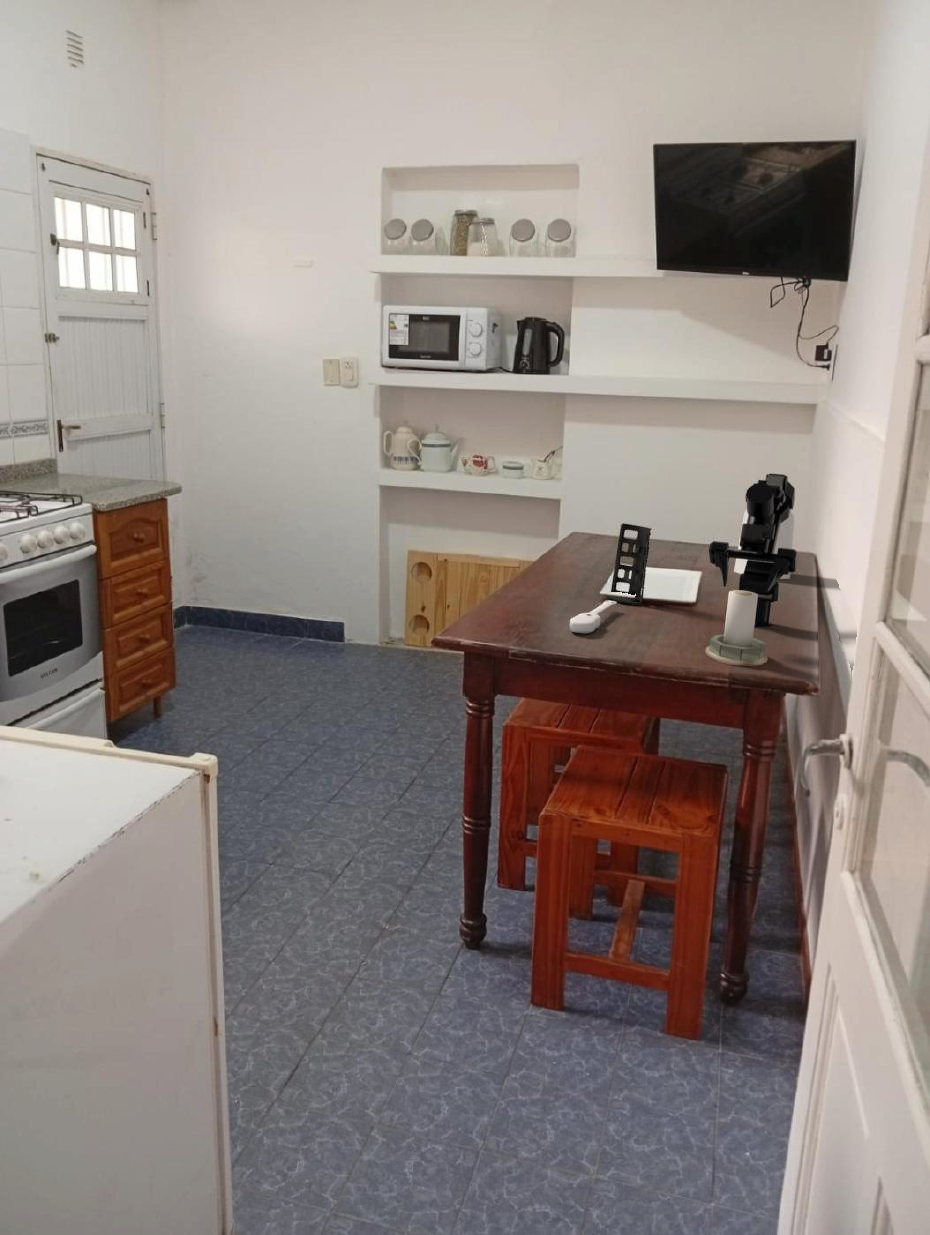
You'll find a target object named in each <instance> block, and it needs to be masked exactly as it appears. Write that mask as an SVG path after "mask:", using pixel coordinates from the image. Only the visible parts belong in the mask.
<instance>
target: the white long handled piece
mask: <svg viewBox="0 0 930 1235" xmlns="http://www.w3.org/2000/svg"><path fill="white" fill-rule="evenodd" d="M617 603H618V601H616V600H604V601H603V603H602V604H600V605H599V606H598V607H595V608H594V609H592V610H591V611H590V612H582V613H579V614H577V615H576V616H573V617H572V618H570V619H569V630H570V631H571V632H573V633H578V634H585V635H586V634H589V633H592V632H594V631H595V630H596V629H598V628H599V627H600V624H601V616H600V615H599V614H600V613H602V612H604V611H605V610H607V609H608V608H610V607H611V606H614V605H616V604H617Z"/></svg>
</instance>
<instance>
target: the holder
mask: <svg viewBox="0 0 930 1235" xmlns="http://www.w3.org/2000/svg"><path fill="white" fill-rule="evenodd" d="M626 531H632V532H633V531H634V532H636V533H637V535H636V539H632V538H626V537H625V532H626ZM651 531H652V528H651V527H646V526H642V525H636V524H630V523H621V524H620V529H619V535H618V542H617V549H616V553H615V554H616V556H615V562H614V567H613V568H614V570H613V574H612V581H611V588H610V589H611V590H610V593H611V592H622V593H628V594H631V595H635V594H636V596H635V598H634V599H629V598H627V597H620V596H616V597H614V596H610V595H609V599H611V600H612V601H616V602H617V603H618V602H619V603H622V604H626V605H628V606H629V605H630V606H636V607H642V606H643V603H644V602H643V601H644V592H645V591H644V590H645V583H646V582H645V580H646V572H647V570H646V569H647V563H648V558H649V551H650V546H649V545H650V540H651V539H650V538H651V535H652V533H651ZM624 544H628V547H627V551H624V550H623V545H624ZM634 546H635V547H634ZM622 557H626V558H632V559H633V560H632V565H627V564H623V563H621V558H622ZM620 570H623V572H624V573H623V577H619V571H620ZM630 572H631V574H630ZM618 583H621V584H628V585H629V586H628V591H624V590H623V591H622V590H618V589H617V584H618ZM636 600H639V601H636ZM633 601H634V602H633Z"/></svg>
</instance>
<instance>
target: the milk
mask: <svg viewBox="0 0 930 1235" xmlns="http://www.w3.org/2000/svg"><path fill="white" fill-rule="evenodd" d="M742 517H743V518H742V524H741V526H742V525H743V524H747V519H748V513H747V509H745V511H744V514H743V516H742ZM794 526H795V516H794V513H793V512H792V509H791V510H790V514H789V517H788V518H787V519H786V520H785V521H784V522H782V523H781V524H780V528H779V533H778V537H777V542H776V546H775V551H774V554H777V552H778V548H788V549H793V542H794V541H793V539H794V530H795V529H794V528H795V527H794ZM741 531H742V527H741V529H740V532H741ZM740 537H741V533H740V534H739V538H738V539H739V540H738V547H737V549H739V550H741V546H740V539H741V538H740ZM747 561H748V560H746V559H737V558H735V563H734V567H733V568H734V569H733V573H735V574H740V575H741V573H744V570H745V566H746V563H747ZM782 579H783V580H785V579H787V580H789V579H791V572H789V574H788V575H783V576H782V577H781V578H780V579H779V580H782Z"/></svg>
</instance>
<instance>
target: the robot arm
mask: <svg viewBox="0 0 930 1235" xmlns="http://www.w3.org/2000/svg"><path fill="white" fill-rule="evenodd" d="M788 477H789V476H788V475H786V474H781V473H770V472H769V474H766V476H765V479H758V480H757V482H754V483H753V484H752V485H751V486H749V487H748V488H747V489H746V493H745V502H746V510H747V513H748V519H747V524H743V525H742V524H741V528H742V531H741V530H740V534H741V537H740V536H739V539H740V538H741V539H740V546H741V550H739V549H738V548H730V543H729V542H726V541H718V540H717V541H715V540H714V541H711V543H709V548H708V554H709V562H710V564H712V565H714V566H715V567H716V568H719V569H720V570H719V571H720V572H721V575H722V584H723V587H724V588H726V586H727V583H728V575H729V569H730V568H729V561H730V559H736V558H737V559H746V560H748V561H747V563H746V566H745V570H744V573H741V574H740V577H739V583H738V590H740V591H749V592H753V593H756V594H758V600H757V608H756V616H755V625H754V627H760V626H761V627H764V626H766V627H767V626H773V622H771V621H770V616H771V610H772V609H771V607H772V603H774V602H778V601H779V592H780V589H779V588H780V584H779V582H778V581H779V580H781V579H780V578H781V577H782V576H783V575H788V574H789V572H790V574H791V573H792V574H793V573H795V572H796V570H797V564H798V556H797V555H798V553H797V550H796V549H795V548H792V549H788V548H778V552H777V554H774V551H775V546H776V542H777V537H778V533H779V528H780V524H781V523H782V522H784V521H785V520H786V519H787V518H788V517H789V514H790V510H791V511H792V510H793V509H794V506H795V499H796V490H795V487H794V486H793V485H792V484H791V483H790V482H789V481H788V480H789V478H788Z"/></svg>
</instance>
